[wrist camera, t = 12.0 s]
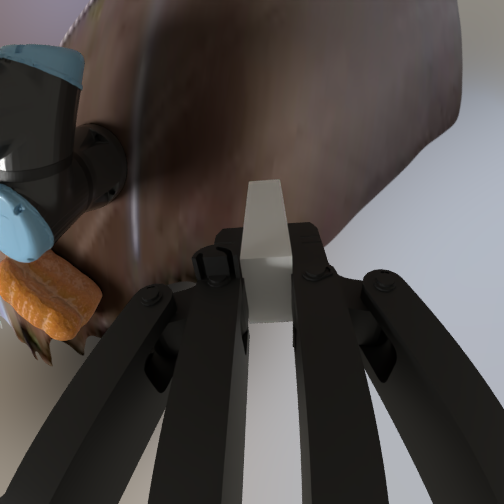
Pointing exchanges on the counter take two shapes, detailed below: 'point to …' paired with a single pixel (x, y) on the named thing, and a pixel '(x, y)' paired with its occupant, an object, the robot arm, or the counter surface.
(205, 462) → the robot arm
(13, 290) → the bread
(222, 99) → the counter surface
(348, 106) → the counter surface
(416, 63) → the counter surface
